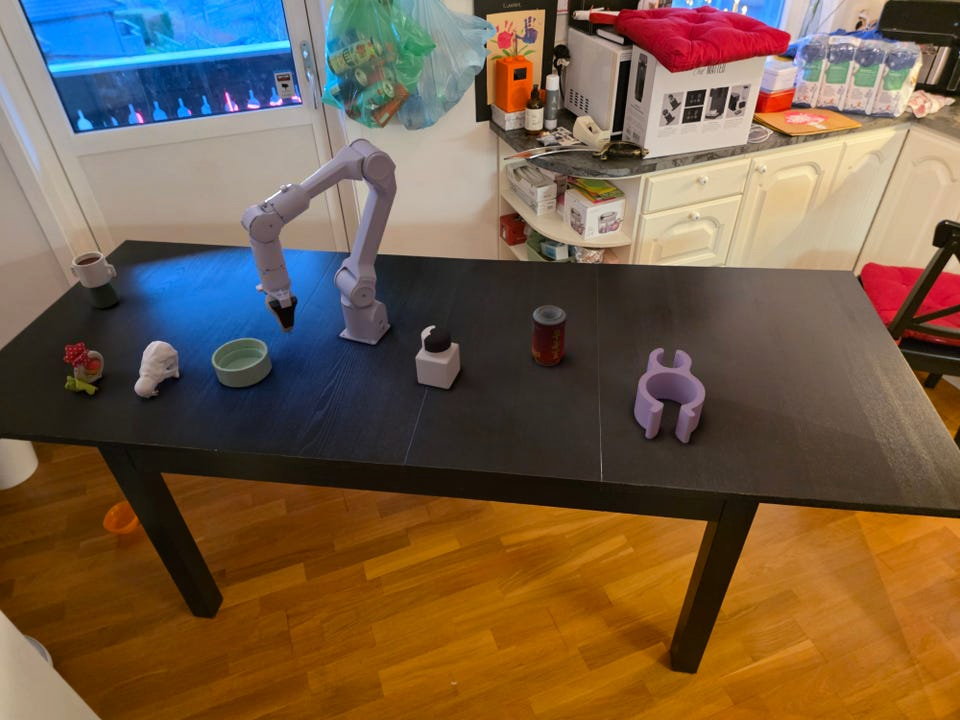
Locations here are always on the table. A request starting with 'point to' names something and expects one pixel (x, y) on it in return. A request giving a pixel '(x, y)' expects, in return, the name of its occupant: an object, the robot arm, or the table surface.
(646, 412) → the clip
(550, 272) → the table surface
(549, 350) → the soda can
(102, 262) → the character mug
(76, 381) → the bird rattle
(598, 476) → the table surface
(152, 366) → the white crouching figurine
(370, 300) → the robot arm
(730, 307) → the table surface
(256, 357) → the bowl
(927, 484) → the table surface
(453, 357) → the medicine bottle
